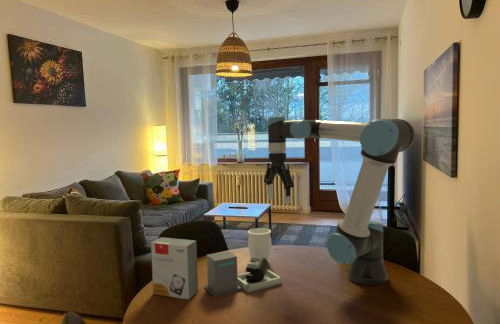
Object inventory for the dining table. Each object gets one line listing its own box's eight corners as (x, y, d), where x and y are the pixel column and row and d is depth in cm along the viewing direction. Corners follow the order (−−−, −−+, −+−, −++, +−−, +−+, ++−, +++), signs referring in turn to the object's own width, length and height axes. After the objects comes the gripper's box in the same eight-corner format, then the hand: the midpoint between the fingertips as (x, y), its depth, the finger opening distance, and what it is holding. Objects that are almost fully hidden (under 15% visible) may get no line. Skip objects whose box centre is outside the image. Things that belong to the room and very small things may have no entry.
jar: (257, 258, 176) (256, 226, 175) (276, 262, 170) (275, 229, 169) (244, 265, 167) (243, 232, 166) (263, 269, 161) (262, 235, 160)
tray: (281, 283, 146) (281, 277, 145) (247, 292, 139) (247, 286, 138) (266, 273, 156) (266, 268, 156) (233, 281, 149) (233, 275, 149)
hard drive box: (152, 294, 139) (149, 242, 138) (163, 286, 147) (161, 236, 145) (189, 300, 134) (186, 245, 132) (199, 291, 141) (196, 239, 140)
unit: (241, 290, 141) (240, 256, 140) (214, 297, 136) (213, 262, 135) (230, 281, 150) (229, 249, 149) (204, 287, 145) (203, 254, 143)
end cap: (263, 285, 142) (264, 269, 141) (245, 282, 144) (245, 266, 142) (268, 273, 152) (269, 257, 150) (251, 270, 153) (251, 255, 152)
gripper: (301, 153, 152) (302, 204, 153) (269, 151, 174) (271, 196, 175) (286, 154, 148) (287, 207, 150) (255, 151, 170) (257, 198, 172)
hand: (278, 201), depth 163 cm, fingers open, 13 cm apart
